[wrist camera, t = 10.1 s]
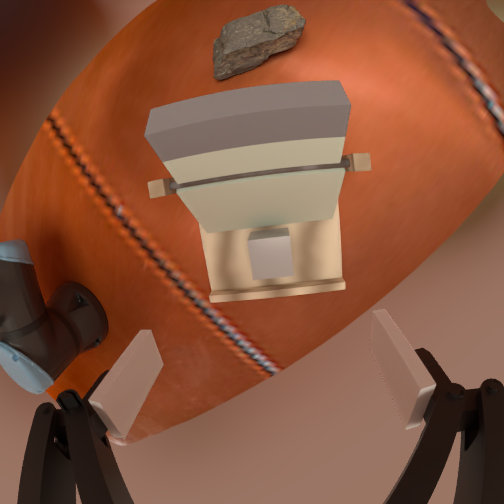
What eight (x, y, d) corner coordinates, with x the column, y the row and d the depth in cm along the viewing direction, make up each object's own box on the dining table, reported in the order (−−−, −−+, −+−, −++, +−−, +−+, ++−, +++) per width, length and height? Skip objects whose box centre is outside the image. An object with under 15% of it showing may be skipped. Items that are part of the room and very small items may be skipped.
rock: (272, -11, 26) (320, 14, 25) (279, 14, 33) (321, 42, 32) (182, 46, 30) (221, 77, 29) (200, 68, 36) (236, 100, 35)
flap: (207, 212, 42) (207, 233, 41) (143, 111, 21) (136, 138, 20) (328, 198, 40) (332, 218, 39) (347, 80, 19) (360, 105, 18)
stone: (250, 231, 41) (255, 266, 42) (247, 240, 36) (253, 280, 37) (287, 227, 40) (291, 262, 42) (289, 235, 35) (293, 275, 36)
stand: (208, 295, 45) (184, 342, 32) (179, 125, 38) (138, 107, 25) (346, 281, 43) (373, 324, 29) (330, 104, 35) (355, 74, 22)
